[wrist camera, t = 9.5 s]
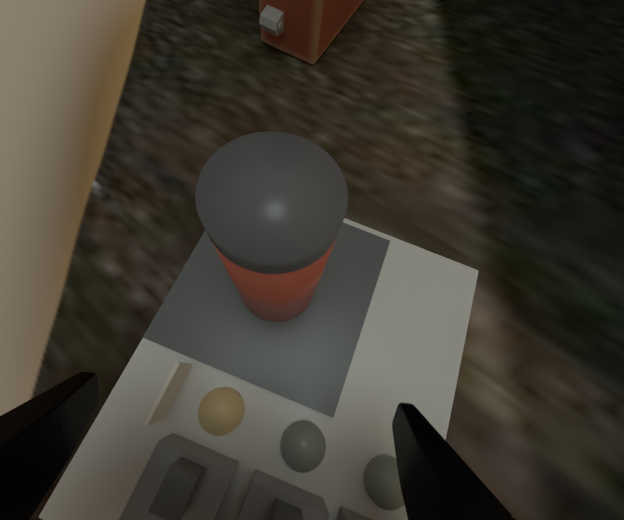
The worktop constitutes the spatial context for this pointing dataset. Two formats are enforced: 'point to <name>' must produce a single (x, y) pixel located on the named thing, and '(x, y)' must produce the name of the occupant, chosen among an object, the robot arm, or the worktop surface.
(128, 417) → the breaker board
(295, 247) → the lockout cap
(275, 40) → the control panel
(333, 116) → the worktop surface
